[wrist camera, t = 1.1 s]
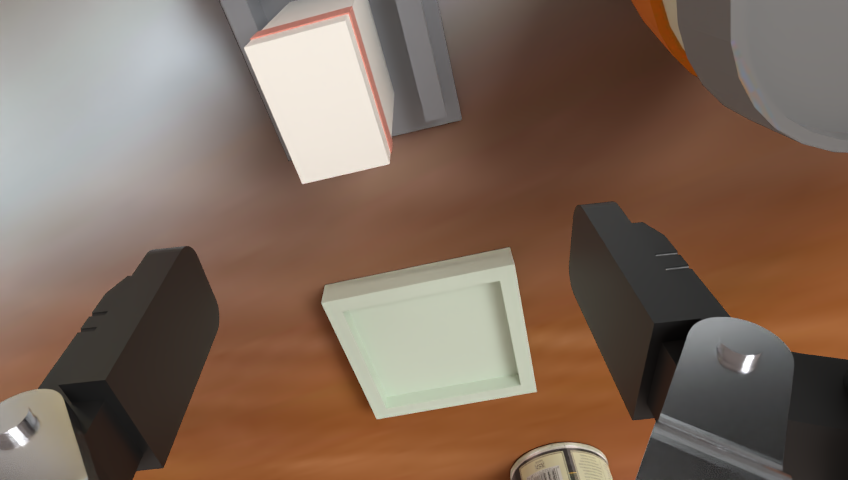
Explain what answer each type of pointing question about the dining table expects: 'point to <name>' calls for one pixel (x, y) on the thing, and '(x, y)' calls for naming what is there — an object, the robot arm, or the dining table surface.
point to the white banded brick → (326, 86)
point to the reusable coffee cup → (765, 60)
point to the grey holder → (403, 51)
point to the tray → (434, 333)
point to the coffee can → (562, 463)
